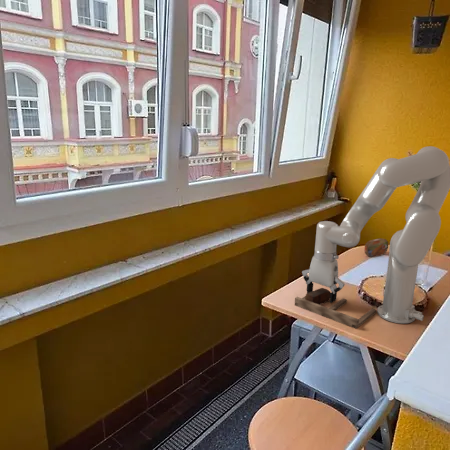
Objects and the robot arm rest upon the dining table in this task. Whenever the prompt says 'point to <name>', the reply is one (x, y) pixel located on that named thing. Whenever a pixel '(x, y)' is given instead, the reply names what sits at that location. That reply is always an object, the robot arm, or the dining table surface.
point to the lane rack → (334, 312)
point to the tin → (376, 247)
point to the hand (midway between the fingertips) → (320, 297)
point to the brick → (318, 296)
